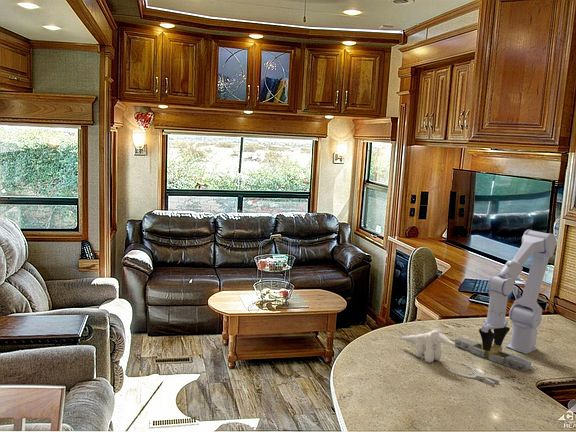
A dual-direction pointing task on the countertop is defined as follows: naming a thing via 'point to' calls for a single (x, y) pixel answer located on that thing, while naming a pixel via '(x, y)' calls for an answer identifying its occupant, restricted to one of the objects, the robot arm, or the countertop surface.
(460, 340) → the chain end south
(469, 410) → the countertop surface
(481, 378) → the pliers
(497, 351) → the brushed brass bar
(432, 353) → the dinosaur statue
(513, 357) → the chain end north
